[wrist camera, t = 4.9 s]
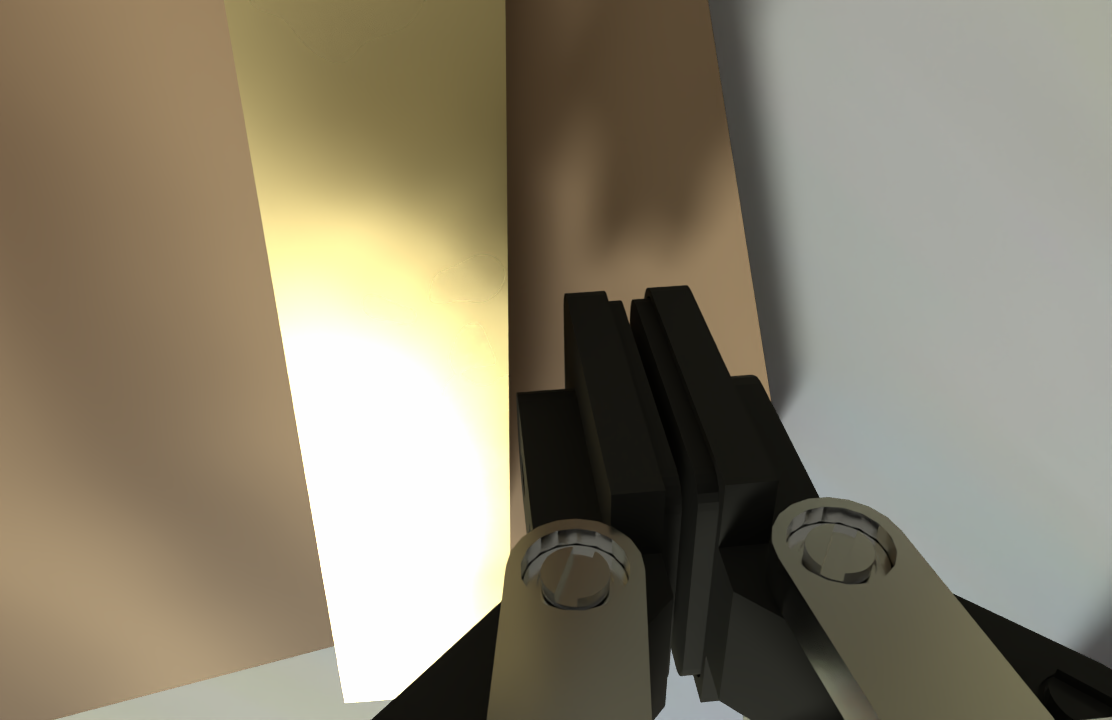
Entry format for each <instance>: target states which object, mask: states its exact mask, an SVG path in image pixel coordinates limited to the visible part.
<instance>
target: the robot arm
mask: <svg viewBox="0 0 1112 720" xmlns="http://www.w3.org/2000/svg"><path fill="white" fill-rule="evenodd" d="M564 372H565V389H555V390H541V391H528V392H517V393H516V404H517V424H518V442H519V457H520V471H521V483H522V494H523V504H524V514H525V523H526V532H527V534H526V535H524V536H523V537H522V538H521V539H520V540H519V541H518V543H517V544H516V545H515V546H514V547H513V549H512V550H511V552H510V555H509V558H508V561H507V564H506V568H505V576H504V584H503V592H502V600H501V602H500V603H499V604H497V605H496V606H495V607H494V608H493V609H492V610H491V611H490V612H489V613H488V614H487V615H485V616H484V617H483V618H482V619H481V620H480V621H479V622H478V623H477V624H476V625H475V626H473V627H472V628H471V629H470V630H469V631H468V632H467V633H466V634H465V635H464V636H462V637H461V638H460V639H459V640H458V641H457V642H456V643H455V644H454V645H453V646H452V647H450V648H449V649H448V650H447V651H446V652H445V653H444V654H443V655H442V656H441V657H439V658H438V659H437V660H436V661H435V662H434V663H433V664H432V665H431V666H430V667H429V668H427V669H426V670H425V671H424V672H423V673H422V674H421V675H420V676H419V677H418V678H417V679H415V680H414V681H413V682H412V683H411V684H410V685H409V686H408V687H407V688H406V689H404V690H403V691H402V692H401V693H400V694H399V695H398V696H397V697H396V698H395V699H394V700H392V701H391V702H390V703H389V704H388V705H387V706H386V707H385V708H384V709H383V710H381V711H380V712H379V713H378V714H377V715H376V716H375V717H374V718H373V719H372V720H654V719H655V718H656V717H657V715H658V714H659V713H660V712H661V710H662V709H663V708H664V707H665V700H666V687H667V677H668V674H669V665H670V652H671V650H672V654H673V658H674V661H675V665H676V669H677V672H678V674H679V675H680V676H687V675H693V676H694V680H695V683H696V687H697V691H698V694H699V698H700V702H710V701H721V702H722V703H724V704H726V705H727V706H729V707H731V708H732V709H734V710H735V711H737V712H739V713H740V714H742V715H743V720H1112V670H1111V669H1110V668H1108V667H1106V666H1104V665H1103V664H1101V663H1099V662H1097V661H1095V660H1092V659H1090V658H1088V657H1086V656H1084V655H1082V654H1080V653H1078V652H1076V651H1073V650H1071V649H1069V648H1067V647H1065V646H1063V645H1061V644H1059V643H1057V642H1054V641H1052V640H1050V639H1048V638H1046V637H1044V636H1042V635H1040V634H1037V633H1035V632H1033V631H1031V630H1029V629H1027V628H1025V627H1023V626H1021V625H1018V624H1016V623H1014V622H1012V621H1010V620H1008V619H1006V618H1004V617H1002V616H999V615H997V614H995V613H993V612H991V611H989V610H987V609H985V608H982V607H980V606H978V605H976V604H974V603H972V602H970V601H968V600H966V599H963V598H961V597H959V596H957V595H955V594H953V593H952V592H951V591H950V590H949V588H948V587H947V586H946V585H945V584H944V582H943V581H942V580H941V579H940V577H939V576H938V575H937V574H936V572H935V571H934V570H933V569H932V567H931V566H930V565H929V564H928V563H927V561H926V560H925V559H924V558H923V556H922V555H921V554H920V553H919V551H918V550H917V549H916V548H915V547H914V545H913V544H912V543H911V542H910V540H909V539H908V538H907V537H906V535H905V534H904V533H903V532H902V530H900V529H899V528H898V527H897V526H896V525H895V524H894V523H893V522H892V521H891V520H890V519H889V518H888V517H886V516H884V515H883V514H881V513H879V512H878V511H876V510H874V509H872V508H871V507H869V506H866V505H863V504H860V503H857V502H854V501H851V500H846V499H839V498H831V497H823V498H819V496H818V494H817V492H816V490H815V488H814V486H813V484H812V482H811V480H810V478H809V476H808V474H807V472H806V470H805V468H804V466H803V464H802V462H801V460H800V458H799V456H798V454H797V452H796V450H795V448H794V446H793V444H792V442H791V440H790V438H789V436H788V434H787V432H786V430H785V428H784V426H783V424H782V422H781V420H780V418H779V416H778V414H777V412H776V410H775V408H774V407H773V405H772V403H771V401H770V399H769V397H768V395H767V393H766V391H765V389H764V387H763V385H762V383H761V381H760V380H759V379H758V377H757V376H755V375H740V376H730V374H729V371H728V369H727V367H726V365H725V363H724V361H723V358H722V356H721V354H720V352H719V350H718V348H717V345H716V343H715V341H714V339H713V337H712V335H711V332H710V330H709V328H708V326H707V324H706V322H705V319H704V317H703V315H702V313H701V311H700V309H699V306H698V304H697V302H696V300H695V298H694V296H693V293H692V291H691V289H690V288H689V286H688V285H681V286H666V287H651V288H647V289H646V291H645V295H644V299H632V301H631V306H630V324H629V321H628V317H627V314H626V311H625V308H624V305H623V302H622V301H621V300H617V301H609V300H608V297H607V294H606V292H605V291H592V292H577V293H565V294H564Z"/></svg>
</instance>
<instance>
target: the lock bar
mask: <svg viewBox="0 0 1112 720" xmlns="http://www.w3.org/2000/svg"><path fill="white" fill-rule="evenodd" d="M224 4H225V10H226V16H227V22H228V27H229V33H230V39H231V45H232V51H233V56H234V62H235V68H236V74H237V80H238V85H239V91H240V97H241V103H242V109H243V114H244V120H245V126H246V132H247V138H248V143H249V149H250V155H251V161H252V167H253V172H254V178H255V184H256V190H257V196H258V201H259V207H260V213H261V219H262V225H263V231H264V236H265V242H266V248H267V254H268V260H269V265H270V271H271V277H272V283H273V289H274V294H275V300H276V306H277V312H278V318H279V323H280V329H281V335H282V341H283V347H284V352H285V358H286V364H287V370H288V376H289V381H290V387H291V393H292V399H293V405H294V411H295V416H296V422H297V428H298V434H299V440H300V445H301V451H302V457H303V463H304V469H305V474H306V480H307V486H308V492H309V498H310V503H311V509H312V515H313V521H314V527H315V532H316V538H317V544H318V550H319V556H320V561H321V567H322V573H323V579H324V585H325V590H326V596H327V602H328V608H329V614H330V620H331V625H332V631H333V637H334V643H335V649H336V654H337V660H338V666H339V672H340V678H341V683H342V689H343V695H344V701H345V703H348V702H361V701H374V700H388V699H395V698H396V697H397V696H398V695H399V694H400V693H401V692H402V691H403V690H404V689H406V688H407V687H408V686H409V685H410V684H411V683H412V682H413V681H414V680H415V679H417V678H418V677H419V676H420V675H421V674H422V673H423V672H424V671H425V670H426V669H427V668H429V667H430V666H431V665H432V664H433V663H434V662H435V661H436V660H437V659H438V658H439V657H441V656H442V655H443V654H444V653H445V652H446V651H447V650H448V649H449V648H450V647H452V646H453V645H454V644H455V643H456V642H457V641H458V640H459V639H460V638H461V637H462V636H464V635H465V634H466V633H467V632H468V631H469V630H470V629H471V628H472V627H473V626H475V625H476V624H477V623H478V622H479V621H480V620H481V619H482V618H483V617H484V616H485V615H487V614H488V613H489V612H490V611H491V610H492V609H493V608H494V607H495V606H496V605H497V604H499V603H500V602H501V600H502V592H503V584H504V576H505V568H506V564H507V561H508V558H509V555H510V476H509V361H508V246H507V131H506V16H505V0H224Z"/></svg>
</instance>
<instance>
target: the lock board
mask: <svg viewBox="0 0 1112 720" xmlns="http://www.w3.org/2000/svg"><path fill="white" fill-rule="evenodd" d="M505 16H506V131H507V246H508V361H509V476H510V552H511V550H512V549H513V547H514V546H515V545H516V544H517V543H518V541H519V540H520V539H521V538H522V537H523V536H524V535H526V534H527V532H526V523H525V514H524V504H523V494H522V483H521V471H520V457H519V442H518V424H517V404H516V393H517V392H528V391H541V390H555V389H565V372H564V294H565V293H577V292H592V291H605V292H606V294H607V297H608V300H609V301H617V300H621V301H622V302H623V305H624V308H625V311H626V314H627V317H628V321H629V324H630V306H631V301H632V299H644V295H645V291H646V289H647V288H651V287H666V286H681V285H688V286H689V288H690V289H691V291H692V293H693V296H694V298H695V300H696V302H697V304H698V306H699V309H700V311H701V313H702V315H703V317H704V319H705V322H706V324H707V326H708V328H709V330H710V332H711V335H712V337H713V339H714V341H715V343H716V345H717V348H718V350H719V352H720V354H721V356H722V358H723V361H724V363H725V365H726V367H727V369H728V371H729V374H730V376H740V375H755V376H757V377H758V379H759V380H760V381H761V383H762V385H763V387H764V389H765V391H766V393H767V395H768V397H769V399H770V401H771V397H770V391H769V385H768V378H767V372H766V366H765V359H764V353H763V346H762V340H761V334H760V327H759V321H758V315H757V308H756V302H755V296H754V289H753V283H752V277H751V270H750V264H749V258H748V251H747V245H746V239H745V232H744V226H743V220H742V213H741V207H740V200H739V194H738V188H737V181H736V175H735V169H734V162H733V156H732V150H731V143H730V137H729V131H728V124H727V118H726V112H725V105H724V99H723V93H722V86H721V80H720V74H719V67H718V61H717V54H716V48H715V42H714V35H713V29H712V23H711V16H710V10H709V4H708V0H505ZM332 646H335V643H334V637H333V631H332V625H331V620H330V614H329V608H328V602H327V596H326V590H325V585H324V579H323V573H322V567H321V561H320V556H319V550H318V544H317V538H316V532H315V527H314V521H313V515H312V509H311V503H310V498H309V492H308V486H307V480H306V474H305V469H304V463H303V457H302V451H301V445H300V440H299V434H298V428H297V422H296V416H295V411H294V405H293V399H292V393H291V387H290V381H289V376H288V370H287V364H286V358H285V352H284V347H283V341H282V335H281V329H280V323H279V318H278V312H277V306H276V300H275V294H274V289H273V283H272V277H271V271H270V265H269V260H268V254H267V248H266V242H265V236H264V231H263V225H262V219H261V213H260V207H259V201H258V196H257V190H256V184H255V178H254V172H253V167H252V161H251V155H250V149H249V143H248V138H247V132H246V126H245V120H244V114H243V109H242V103H241V97H240V91H239V85H238V80H237V74H236V68H235V62H234V56H233V51H232V45H231V39H230V33H229V27H228V22H227V16H226V10H225V4H224V0H0V720H54V719H58V718H62V717H66V716H69V715H73V714H77V713H81V712H85V711H88V710H92V709H96V708H100V707H104V706H108V705H111V704H115V703H119V702H123V701H127V700H130V699H134V698H138V697H142V696H146V695H149V694H153V693H157V692H161V691H165V690H168V689H172V688H176V687H180V686H184V685H187V684H191V683H195V682H199V681H203V680H206V679H210V678H214V677H218V676H222V675H225V674H229V673H233V672H237V671H241V670H244V669H248V668H252V667H256V666H260V665H263V664H267V663H271V662H275V661H279V660H283V659H286V658H290V657H294V656H298V655H302V654H305V653H309V652H313V651H317V650H321V649H324V648H328V647H332Z"/></svg>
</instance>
